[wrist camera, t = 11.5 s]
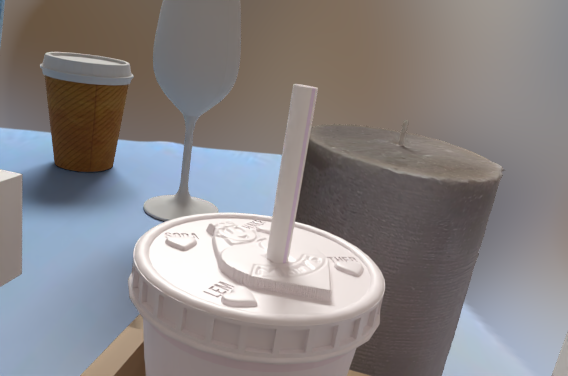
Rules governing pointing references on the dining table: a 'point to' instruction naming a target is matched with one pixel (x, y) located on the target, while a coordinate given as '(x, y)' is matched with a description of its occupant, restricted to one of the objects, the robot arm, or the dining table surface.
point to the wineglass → (194, 78)
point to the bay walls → (130, 355)
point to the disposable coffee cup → (85, 108)
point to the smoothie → (255, 285)
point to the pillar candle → (402, 232)
